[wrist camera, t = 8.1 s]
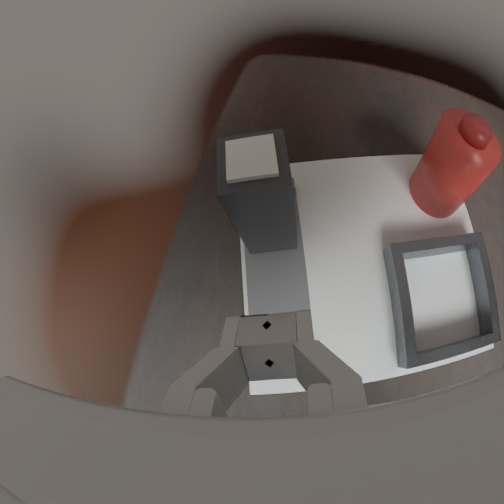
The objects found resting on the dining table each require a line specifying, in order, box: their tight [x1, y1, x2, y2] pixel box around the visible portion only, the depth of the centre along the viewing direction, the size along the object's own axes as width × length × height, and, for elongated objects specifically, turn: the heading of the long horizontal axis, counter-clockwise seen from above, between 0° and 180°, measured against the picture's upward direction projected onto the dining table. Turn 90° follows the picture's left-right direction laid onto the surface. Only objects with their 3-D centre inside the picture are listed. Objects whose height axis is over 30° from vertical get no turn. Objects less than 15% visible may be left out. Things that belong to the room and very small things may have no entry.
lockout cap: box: [409, 108, 501, 218], centre depth 17 cm, size 5×5×9 cm
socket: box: [383, 232, 501, 369], centre depth 17 cm, size 9×9×2 cm
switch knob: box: [216, 128, 298, 254], centre depth 18 cm, size 4×4×9 cm
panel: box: [240, 154, 494, 395], centre depth 20 cm, size 20×18×2 cm
